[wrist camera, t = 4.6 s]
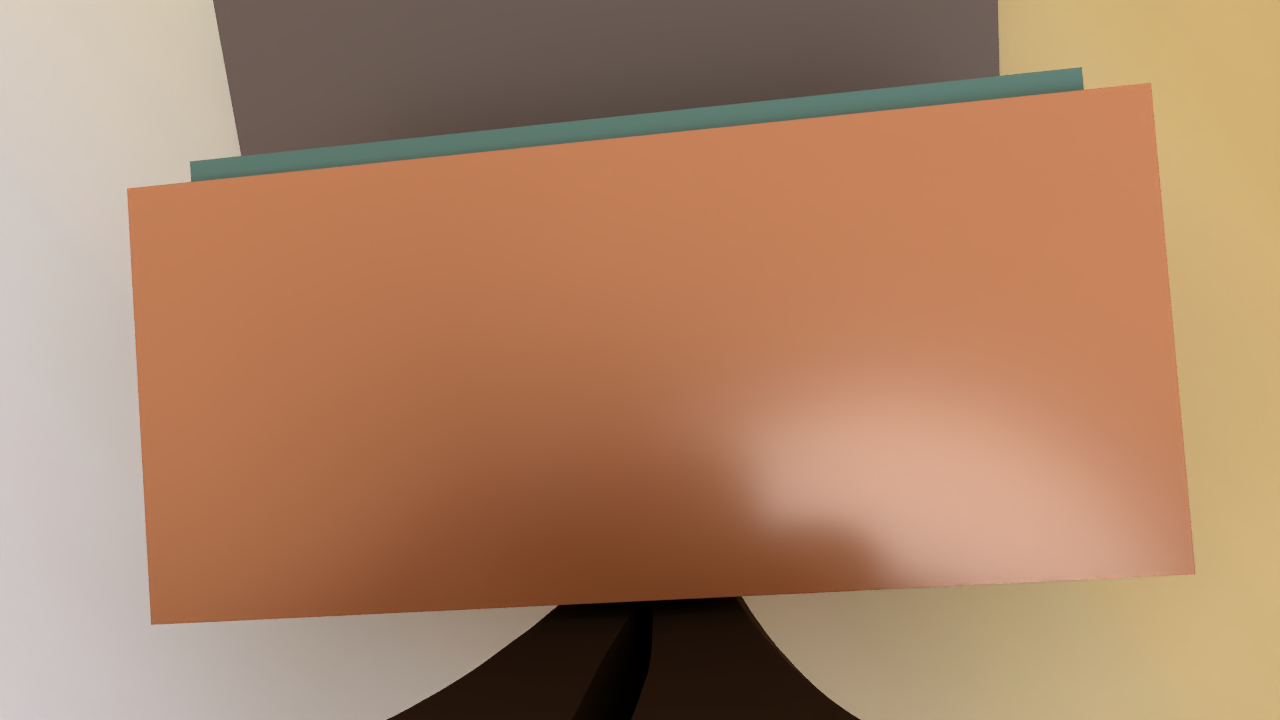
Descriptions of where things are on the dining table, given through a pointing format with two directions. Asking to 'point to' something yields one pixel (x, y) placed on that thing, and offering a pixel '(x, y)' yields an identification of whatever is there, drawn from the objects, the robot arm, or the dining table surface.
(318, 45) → the charcoal mat
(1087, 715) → the dining table surface
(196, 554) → the orange rectangular block
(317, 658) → the dining table surface
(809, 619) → the dining table surface
